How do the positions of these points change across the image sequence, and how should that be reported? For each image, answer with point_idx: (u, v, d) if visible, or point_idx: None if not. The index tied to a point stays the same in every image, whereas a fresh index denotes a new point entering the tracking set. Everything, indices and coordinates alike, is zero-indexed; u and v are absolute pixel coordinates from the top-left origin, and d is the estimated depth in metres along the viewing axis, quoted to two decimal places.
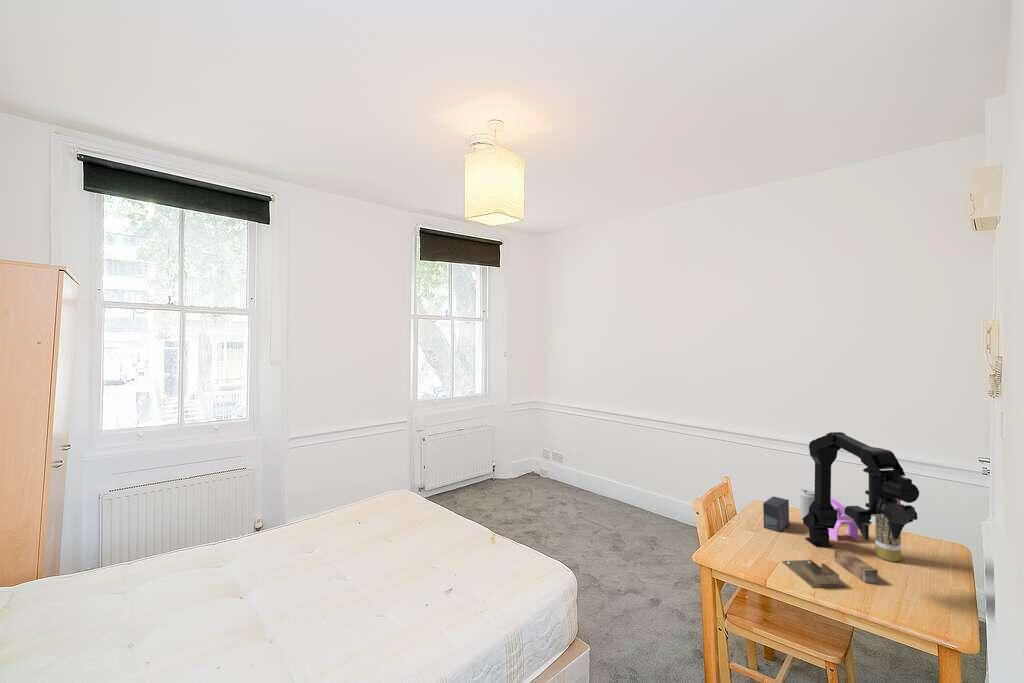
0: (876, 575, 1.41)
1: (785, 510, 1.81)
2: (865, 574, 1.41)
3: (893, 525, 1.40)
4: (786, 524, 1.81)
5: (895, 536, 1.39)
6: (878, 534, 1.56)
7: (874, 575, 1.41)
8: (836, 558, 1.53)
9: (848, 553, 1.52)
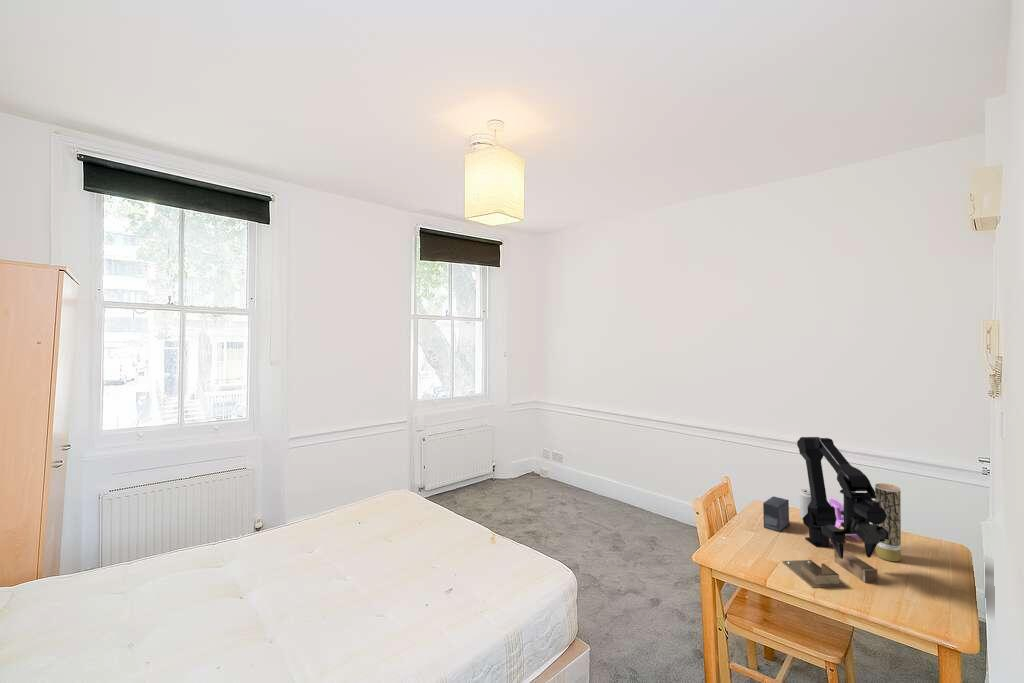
0: (876, 575, 1.41)
1: (785, 510, 1.81)
2: (865, 574, 1.41)
3: (867, 544, 1.49)
4: (786, 524, 1.81)
5: (868, 554, 1.47)
6: None
7: (874, 575, 1.41)
8: (836, 558, 1.53)
9: (848, 553, 1.52)
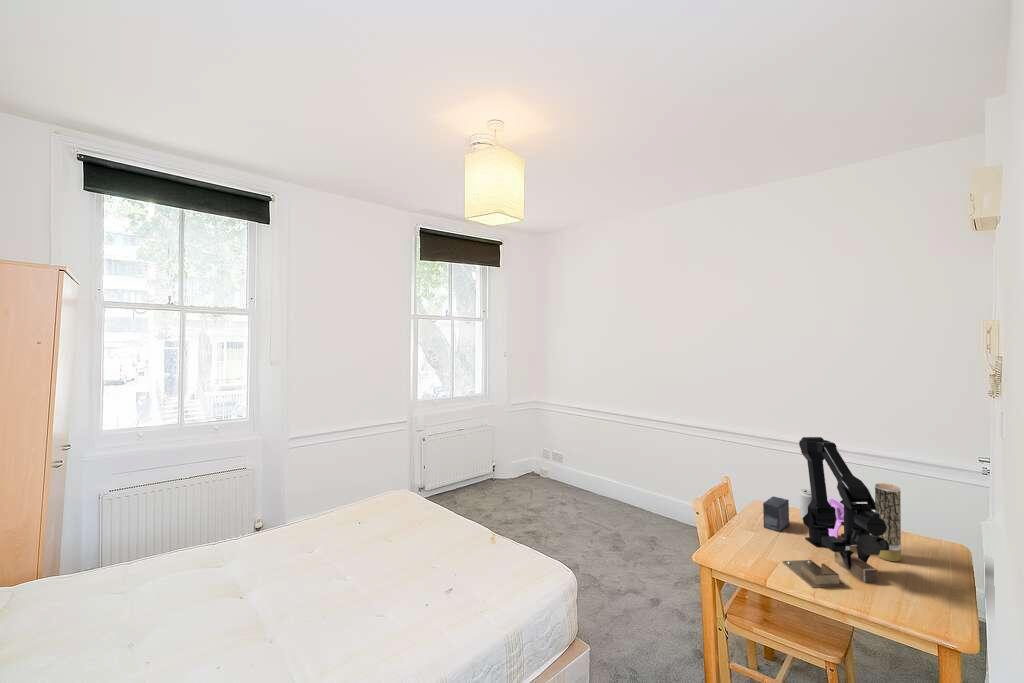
0: (876, 575, 1.41)
1: (784, 510, 1.81)
2: (865, 574, 1.41)
3: (860, 555, 1.49)
4: (786, 524, 1.81)
5: None
6: None
7: (874, 575, 1.41)
8: (836, 558, 1.53)
9: None
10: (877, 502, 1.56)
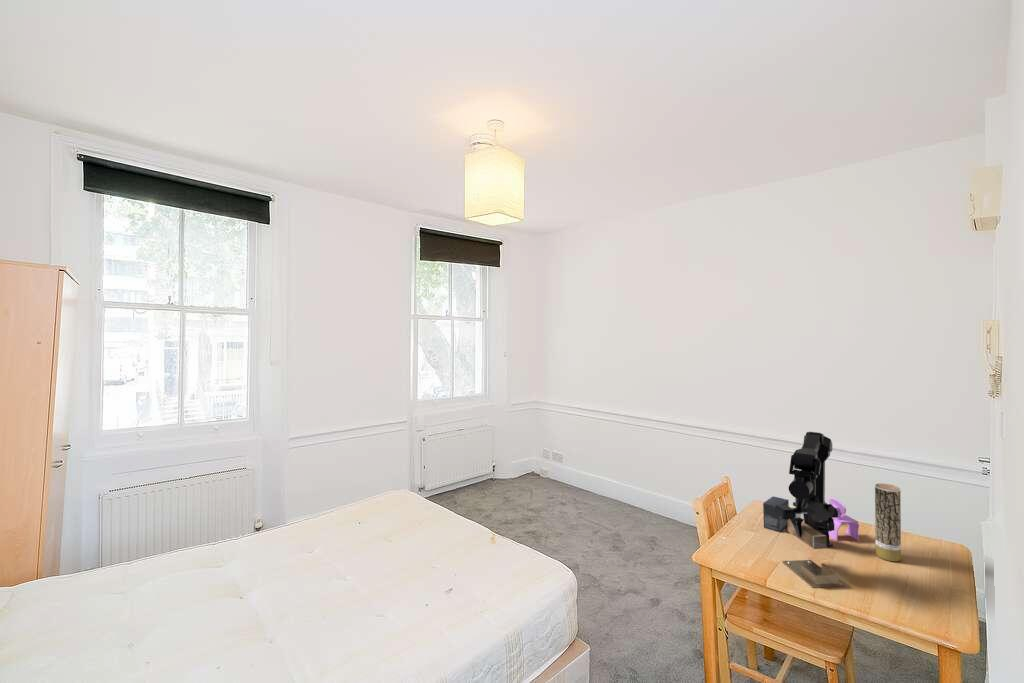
0: (825, 541, 1.44)
1: None
2: (814, 540, 1.43)
3: (811, 523, 1.51)
4: (786, 524, 1.81)
5: None
6: (878, 534, 1.56)
7: (823, 541, 1.44)
8: (789, 527, 1.56)
9: None
10: (877, 502, 1.56)
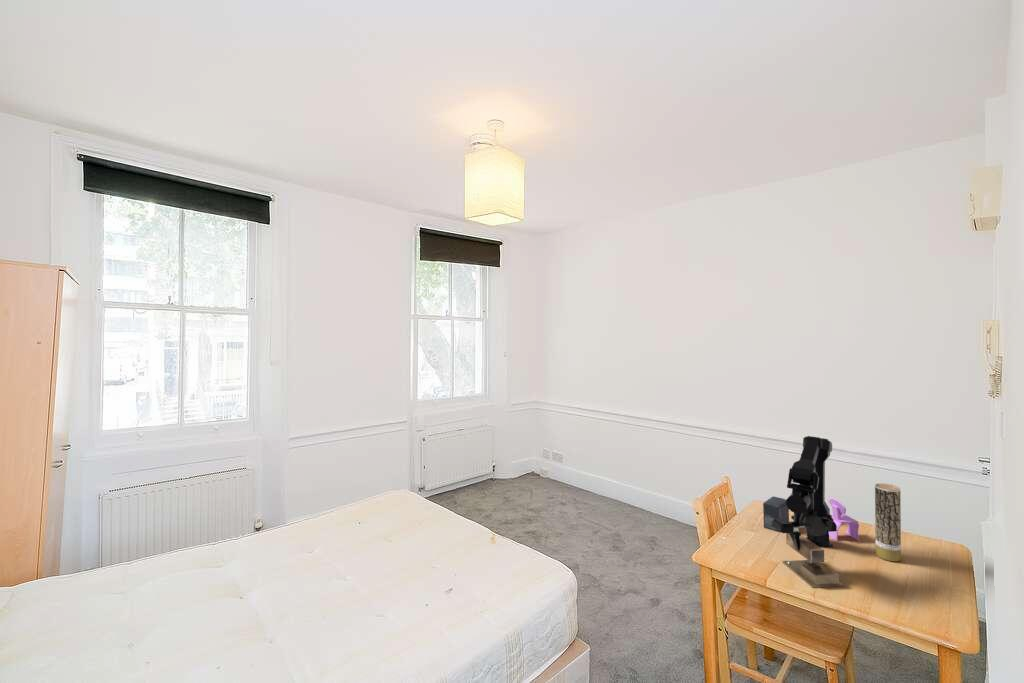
0: (823, 555, 1.44)
1: (784, 510, 1.81)
2: (812, 554, 1.44)
3: (809, 537, 1.51)
4: None
5: None
6: (878, 534, 1.56)
7: (821, 555, 1.44)
8: (787, 540, 1.56)
9: None
10: (877, 502, 1.56)
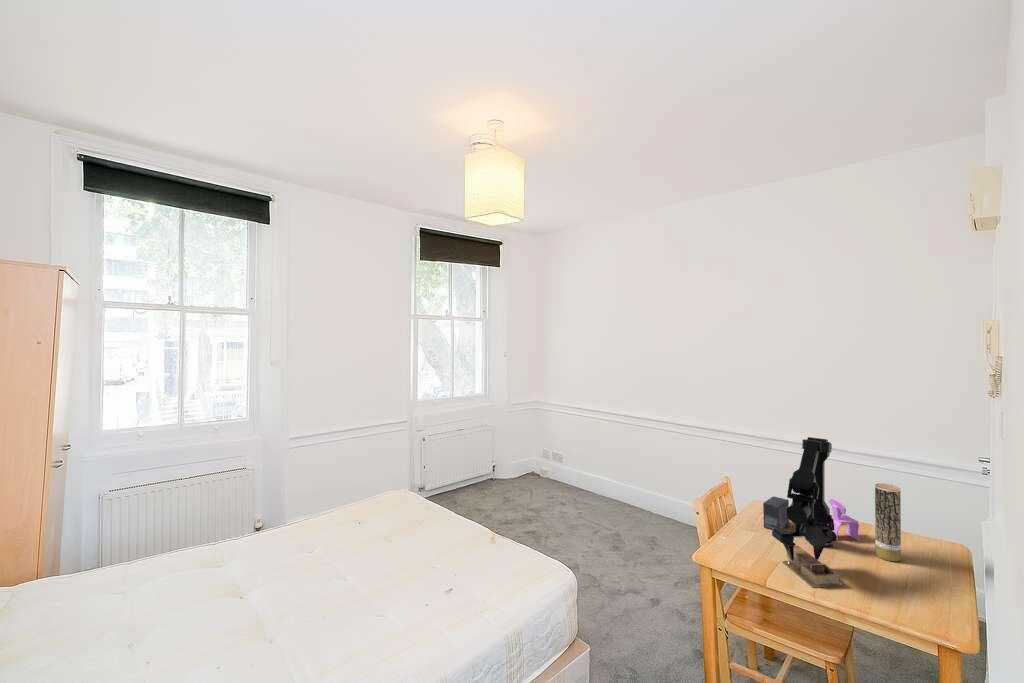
0: (823, 570, 1.44)
1: (785, 510, 1.81)
2: (811, 569, 1.44)
3: (815, 546, 1.51)
4: (786, 524, 1.81)
5: (816, 556, 1.50)
6: (878, 534, 1.56)
7: (821, 570, 1.44)
8: None
9: (799, 549, 1.55)
10: (877, 502, 1.56)
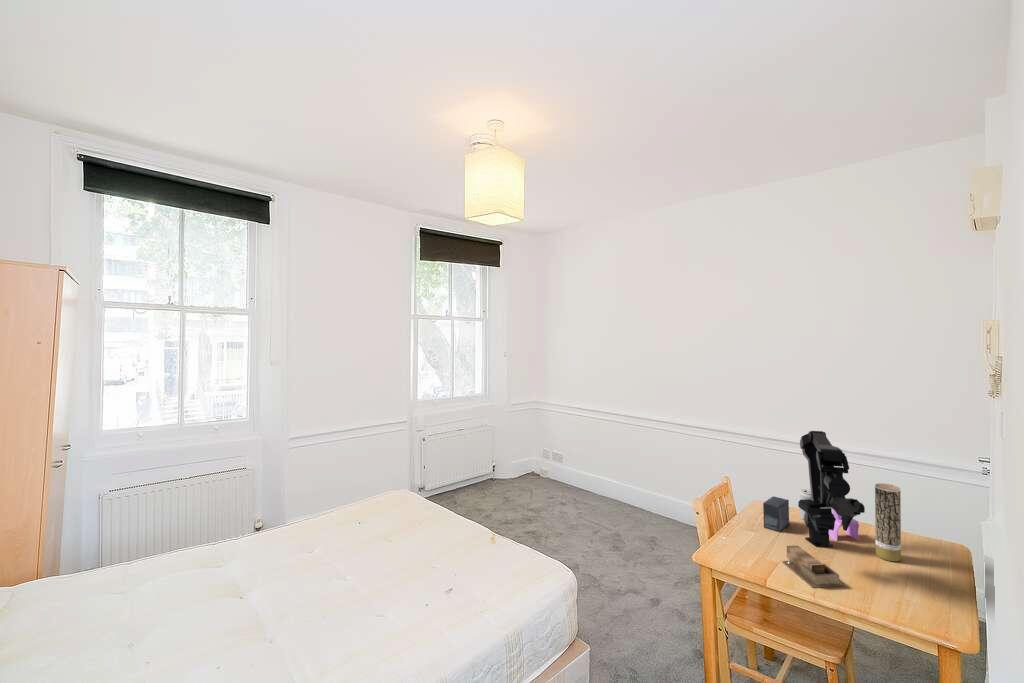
0: (823, 570, 1.44)
1: (785, 510, 1.81)
2: (811, 569, 1.44)
3: (843, 518, 1.52)
4: (786, 524, 1.81)
5: (845, 527, 1.51)
6: (878, 534, 1.56)
7: (821, 570, 1.44)
8: (788, 553, 1.56)
9: (799, 549, 1.55)
10: (877, 502, 1.56)
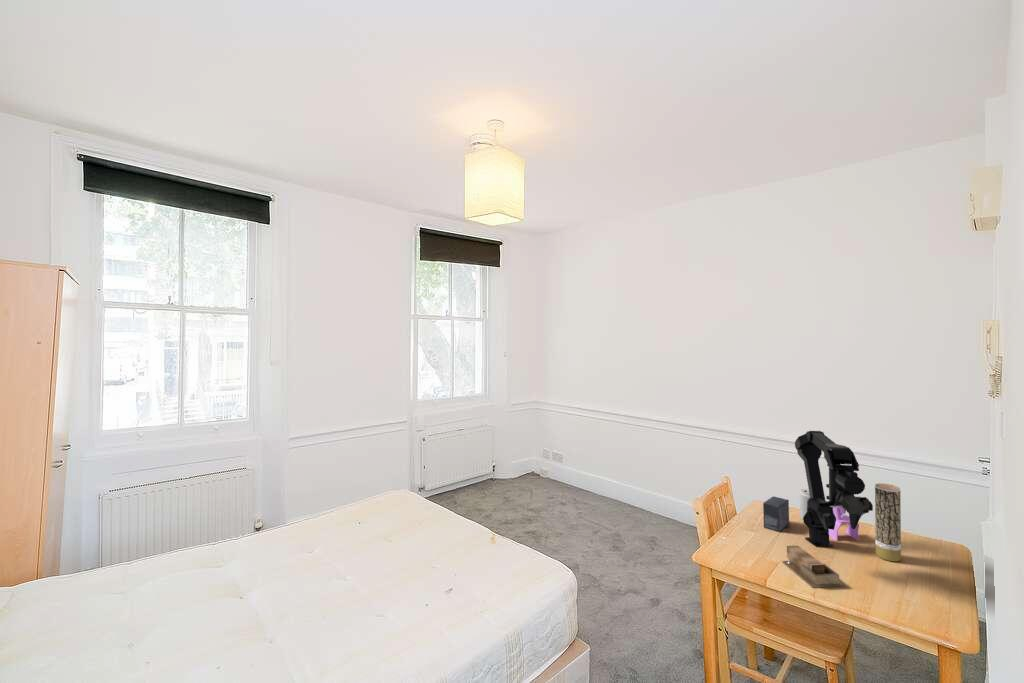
0: (823, 570, 1.44)
1: (785, 510, 1.81)
2: (811, 569, 1.44)
3: (851, 516, 1.52)
4: (786, 524, 1.81)
5: (853, 526, 1.51)
6: (878, 534, 1.56)
7: (821, 570, 1.44)
8: (788, 553, 1.56)
9: (799, 549, 1.55)
10: (877, 502, 1.56)
